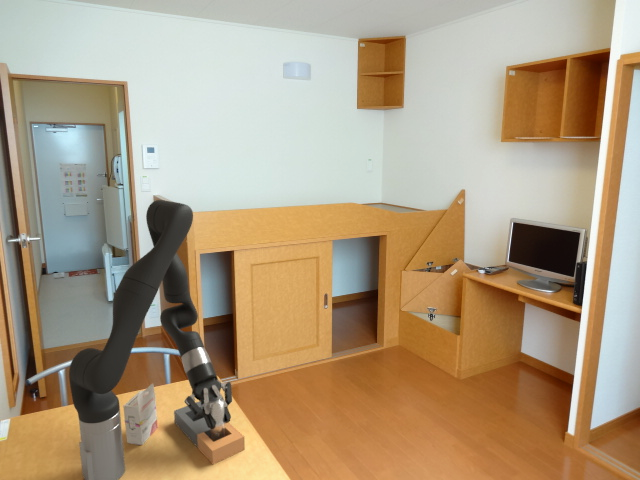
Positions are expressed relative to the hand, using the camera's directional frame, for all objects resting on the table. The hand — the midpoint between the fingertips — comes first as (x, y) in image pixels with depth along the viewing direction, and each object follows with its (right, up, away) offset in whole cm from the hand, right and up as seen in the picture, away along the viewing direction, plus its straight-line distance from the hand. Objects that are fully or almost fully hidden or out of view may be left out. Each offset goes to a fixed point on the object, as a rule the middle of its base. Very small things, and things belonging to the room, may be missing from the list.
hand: (220, 424), depth 128 cm
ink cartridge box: (-24, -6, +7) cm, 26 cm away
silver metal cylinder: (-1, -5, +3) cm, 6 cm away
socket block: (-5, -6, +7) cm, 11 cm away
